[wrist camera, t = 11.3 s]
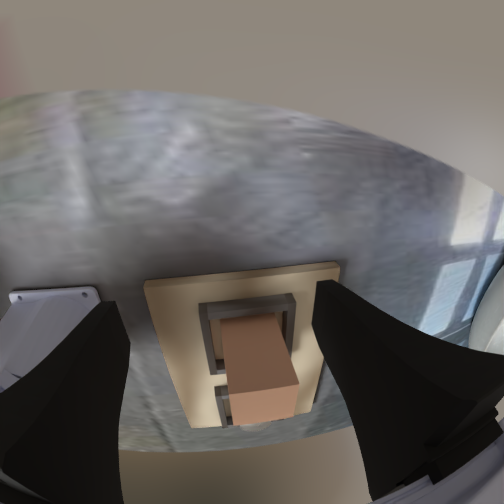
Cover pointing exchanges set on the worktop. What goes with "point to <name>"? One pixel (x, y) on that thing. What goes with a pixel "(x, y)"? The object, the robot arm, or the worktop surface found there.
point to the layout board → (209, 331)
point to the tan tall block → (258, 369)
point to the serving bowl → (490, 319)
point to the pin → (255, 426)
